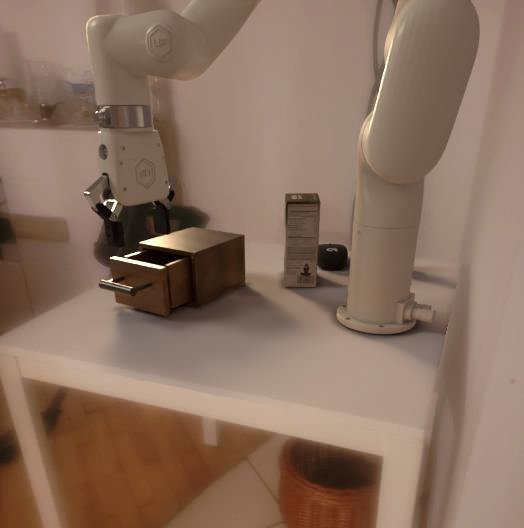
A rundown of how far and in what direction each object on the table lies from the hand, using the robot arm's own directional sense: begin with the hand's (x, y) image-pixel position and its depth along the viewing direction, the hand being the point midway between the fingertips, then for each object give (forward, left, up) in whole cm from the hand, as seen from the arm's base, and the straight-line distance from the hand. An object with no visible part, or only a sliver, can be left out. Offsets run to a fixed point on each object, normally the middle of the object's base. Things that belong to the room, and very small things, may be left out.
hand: (140, 239), depth 77 cm
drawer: (0, -2, -11) cm, 11 cm away
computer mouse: (-14, -42, -12) cm, 46 cm away
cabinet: (0, -13, -12) cm, 18 cm away
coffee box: (-14, -28, -12) cm, 33 cm away
